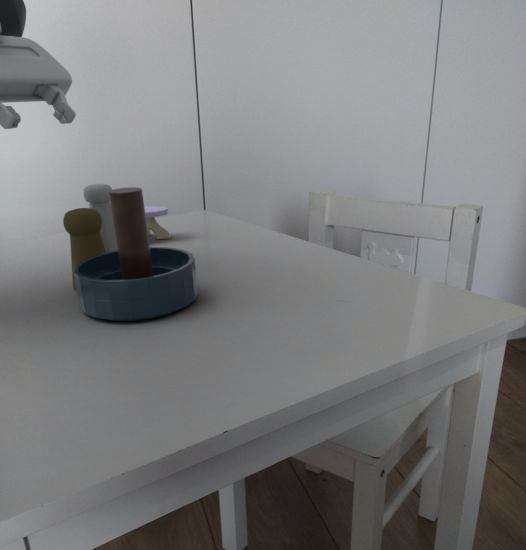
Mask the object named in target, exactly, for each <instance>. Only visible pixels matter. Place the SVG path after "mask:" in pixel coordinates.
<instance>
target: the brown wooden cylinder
mask: <svg viewBox="0 0 526 550" xmlns="http://www.w3.org/2000/svg"><path fill="white" fill-rule="evenodd" d="M109 197H110V203H111V210H112V216H113V222H114V228H115V235H116V241H117V247H118V254H119V260H120V266H121V272H122V279H123V280H129V279H137V278H145V277H151V276H154V275H153V267H152V260H151V253H150V247H151V245H150V239H149V237H148V230H147V223H146V215H145V208H144V206H145V201H144V194H143V188H141V187H133V186H131V187H119V188H114V189H112V190H111V191H109Z"/></svg>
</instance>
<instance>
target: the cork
mask: <svg viewBox="0 0 526 550" xmlns="http://www.w3.org/2000/svg"><path fill="white" fill-rule="evenodd" d="M62 223H63V227H64V229H65V231H66V232H67V234H69V240H70V241H69V243H70V257H71V274H72V275H71V276H72V289H73V290H74V291H77V288H76V283H75V278H74V273H73V272H74V267H75V266H76V265H77V264H79V263H80V262H81V261H83V260H86V259H88V258H90V257H93V256H96V255H99V254H103V253H106V250H105V247H104V244H103V240H102V237H101V234H100V230H101V228H102V218H101V215H100V213H99V212H98V211H97V210H95V209H91V208H89V207H79V208H74V209H71V210H68V211H66V212H65V213H64V215H63V219H62Z"/></svg>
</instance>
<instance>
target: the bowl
mask: <svg viewBox="0 0 526 550" xmlns="http://www.w3.org/2000/svg"><path fill="white" fill-rule="evenodd" d="M150 253H151V260H152V267H153V275H154V276H151V277H145V278H137V279H129V280H123V279H122V272H121V266H120V260H119V254H118V250H116V251H111V252H106V253H103V254H99V255H96V256H93V257H90V258H88V259H86V260H83V261H81V262H80V263H79V264H77V265H76V266H75V267H74V272H73V273H74V278H75V283H76V288H77V290H76V293H77V299H78V303H79V304H78V305H79V309H80V310H81V311H82V312H83V313H84V314H86V315H88V316H91V317H93V318H96V319H100V320H101V319H102V320H106V321H111V322H112V321H114V322H137V321H144V320H151V319H157V318H160V317H164V316H167V315H170V314H173V313H175V312H177V311H180V310H181V309H183V308H186V307H188V306H189V305H190V304H192V303H193V302H194V301H196V299H197V296H198V294H199V290H198V281H197V279H198V278H197V270H196V261H195V259H196V258H195V256H194V255H193V253H191V252H189V251H188V250H185V249H181V248H176V247H166V246H150Z"/></svg>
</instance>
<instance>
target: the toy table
mask: <svg viewBox="0 0 526 550" xmlns="http://www.w3.org/2000/svg"><path fill="white" fill-rule="evenodd" d="M144 208H145V215H146V223H147V230H148V238H149V237H150V236H151V232H152V233H153V234H154V236H155V239H156V240H164V239H165V240H166V239H170V238H171V233H170V232H169V231H168V230H167V229H166V228H164V227H163V226H161V225H160V224H159V223H158V221H157V220H156V218H157V217H158V218H159V217H163V216H167V215H168V214H169V210H168V209H169V208H168V207H166V206H160V205H159V206H158V205H148V206H147V205H144Z"/></svg>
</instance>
